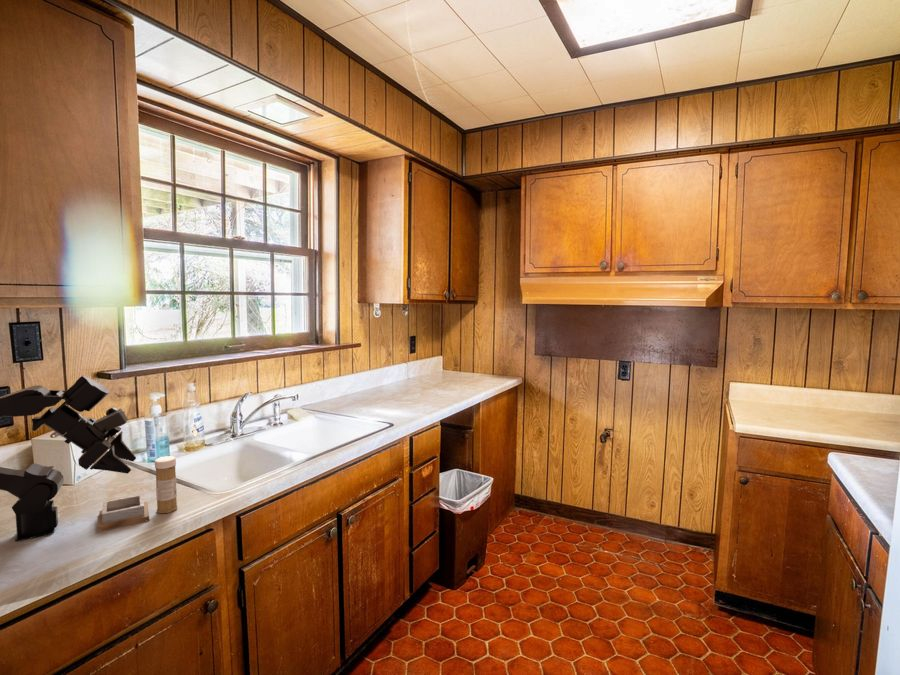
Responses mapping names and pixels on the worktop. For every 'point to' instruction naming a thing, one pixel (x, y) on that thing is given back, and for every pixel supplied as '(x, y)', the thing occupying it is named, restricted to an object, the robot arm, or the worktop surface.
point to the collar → (122, 509)
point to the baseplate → (123, 522)
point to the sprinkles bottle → (166, 484)
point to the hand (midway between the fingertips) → (132, 465)
